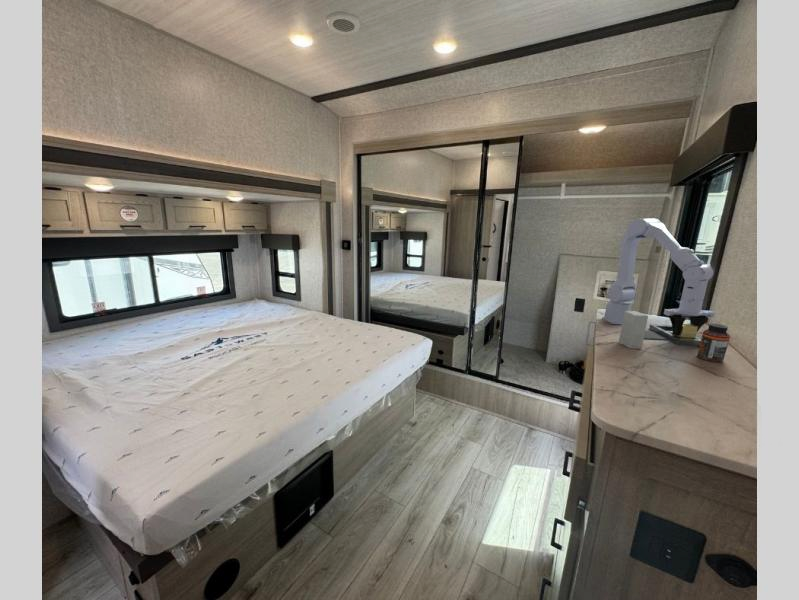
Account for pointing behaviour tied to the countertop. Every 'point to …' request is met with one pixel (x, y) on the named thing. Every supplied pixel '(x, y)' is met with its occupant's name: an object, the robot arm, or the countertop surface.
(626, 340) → the skincare box
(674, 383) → the countertop surface
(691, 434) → the countertop surface
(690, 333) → the gold drawer box
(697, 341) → the grey rectangular frame
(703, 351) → the supplement bottle
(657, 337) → the mat
